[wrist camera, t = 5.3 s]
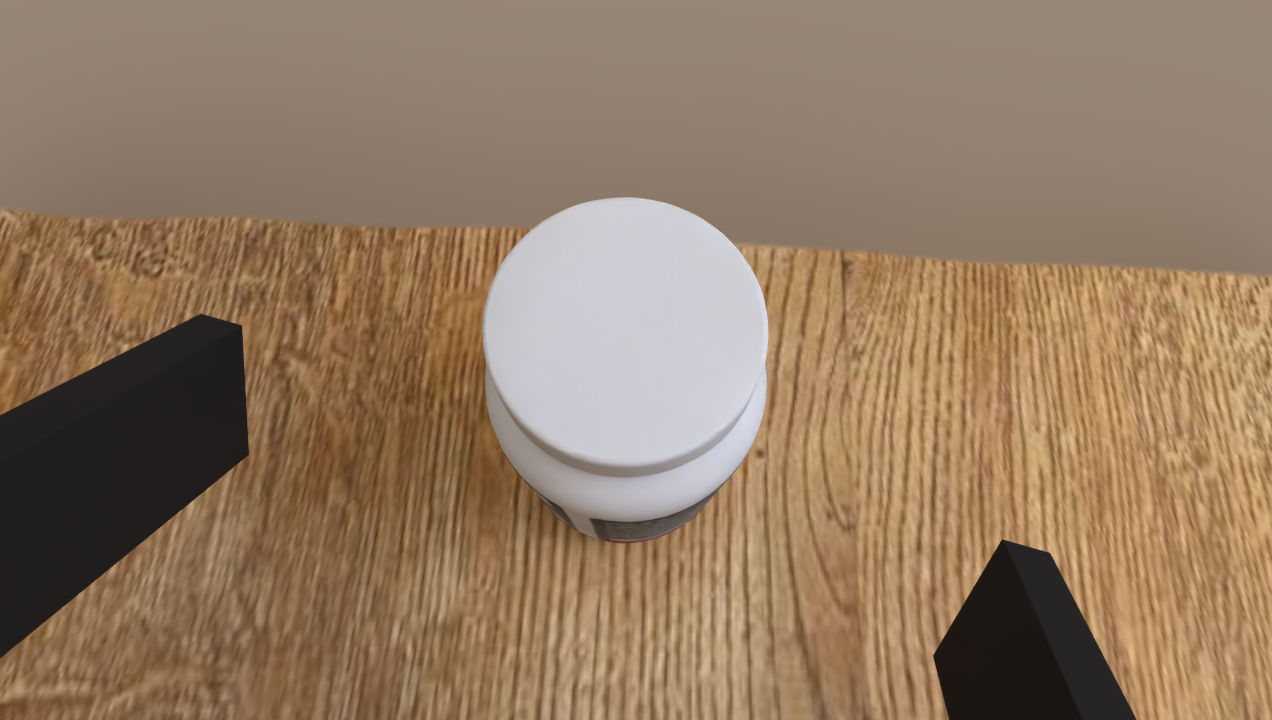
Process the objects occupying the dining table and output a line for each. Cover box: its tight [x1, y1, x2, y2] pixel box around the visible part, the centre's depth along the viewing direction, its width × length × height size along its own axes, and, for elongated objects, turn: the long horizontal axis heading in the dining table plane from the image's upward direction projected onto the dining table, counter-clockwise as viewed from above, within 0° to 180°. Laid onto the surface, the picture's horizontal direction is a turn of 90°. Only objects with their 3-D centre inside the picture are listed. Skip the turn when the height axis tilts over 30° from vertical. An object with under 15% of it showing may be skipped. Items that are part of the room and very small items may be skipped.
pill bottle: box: [482, 197, 768, 543], centre depth 16 cm, size 6×6×10 cm
